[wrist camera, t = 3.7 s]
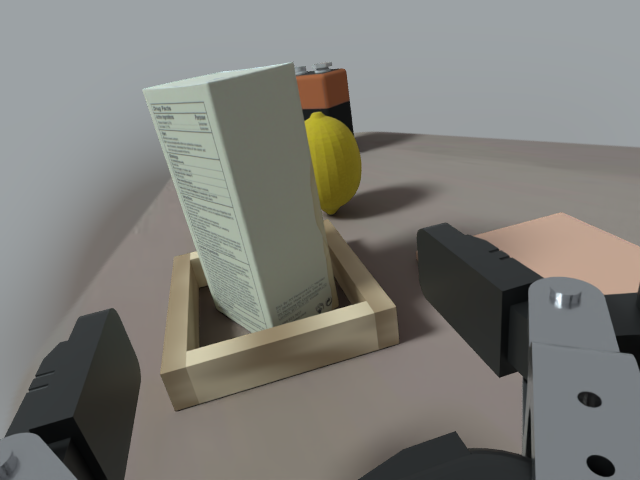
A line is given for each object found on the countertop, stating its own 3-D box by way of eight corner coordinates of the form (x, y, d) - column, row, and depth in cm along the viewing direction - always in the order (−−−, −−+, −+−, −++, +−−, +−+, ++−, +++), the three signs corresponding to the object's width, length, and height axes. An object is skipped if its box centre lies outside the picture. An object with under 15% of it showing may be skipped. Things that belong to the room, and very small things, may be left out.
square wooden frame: (332, 246, 29) (328, 219, 28) (399, 343, 20) (396, 306, 19) (183, 284, 28) (174, 256, 27) (175, 411, 18) (160, 374, 17)
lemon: (314, 200, 38) (299, 106, 34) (375, 201, 35) (365, 100, 32) (285, 227, 33) (264, 123, 30) (352, 230, 31) (337, 117, 28)
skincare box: (342, 308, 23) (303, 60, 17) (276, 355, 20) (207, 80, 15) (270, 275, 27) (222, 68, 22) (208, 309, 25) (137, 85, 19)
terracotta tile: (560, 220, 28) (561, 212, 27) (732, 301, 19) (736, 289, 18) (416, 259, 26) (415, 250, 26) (530, 367, 17) (531, 356, 17)
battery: (335, 160, 49) (321, 65, 44) (291, 157, 53) (275, 70, 48) (357, 149, 51) (346, 59, 47) (313, 147, 56) (300, 64, 51)
